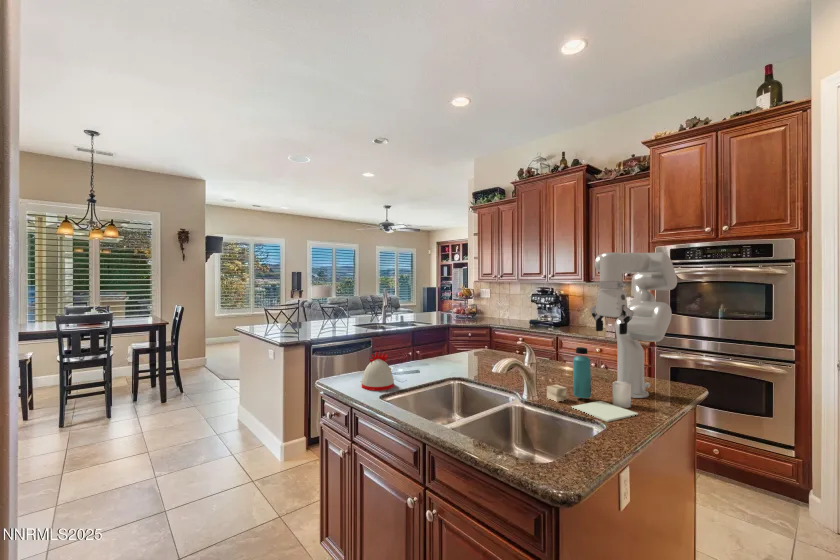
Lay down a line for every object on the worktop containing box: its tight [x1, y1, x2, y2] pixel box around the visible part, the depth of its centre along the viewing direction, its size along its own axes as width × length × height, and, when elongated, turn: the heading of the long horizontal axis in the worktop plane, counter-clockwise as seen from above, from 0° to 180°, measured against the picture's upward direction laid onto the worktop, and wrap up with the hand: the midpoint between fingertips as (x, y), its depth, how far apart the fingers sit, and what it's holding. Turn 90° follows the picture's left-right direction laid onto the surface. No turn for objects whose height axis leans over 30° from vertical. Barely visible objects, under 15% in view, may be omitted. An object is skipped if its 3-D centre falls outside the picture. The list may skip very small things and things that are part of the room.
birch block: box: [546, 384, 567, 403], centre depth 148 cm, size 5×5×5 cm
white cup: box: [612, 380, 632, 409], centre depth 141 cm, size 6×6×8 cm
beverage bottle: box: [572, 346, 592, 399], centre depth 148 cm, size 6×7×20 cm
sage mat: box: [570, 400, 639, 423], centre depth 134 cm, size 15×15×1 cm
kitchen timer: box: [361, 351, 395, 392], centre depth 166 cm, size 14×14×15 cm
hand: (610, 332), depth 142 cm, fingers open, 9 cm apart
